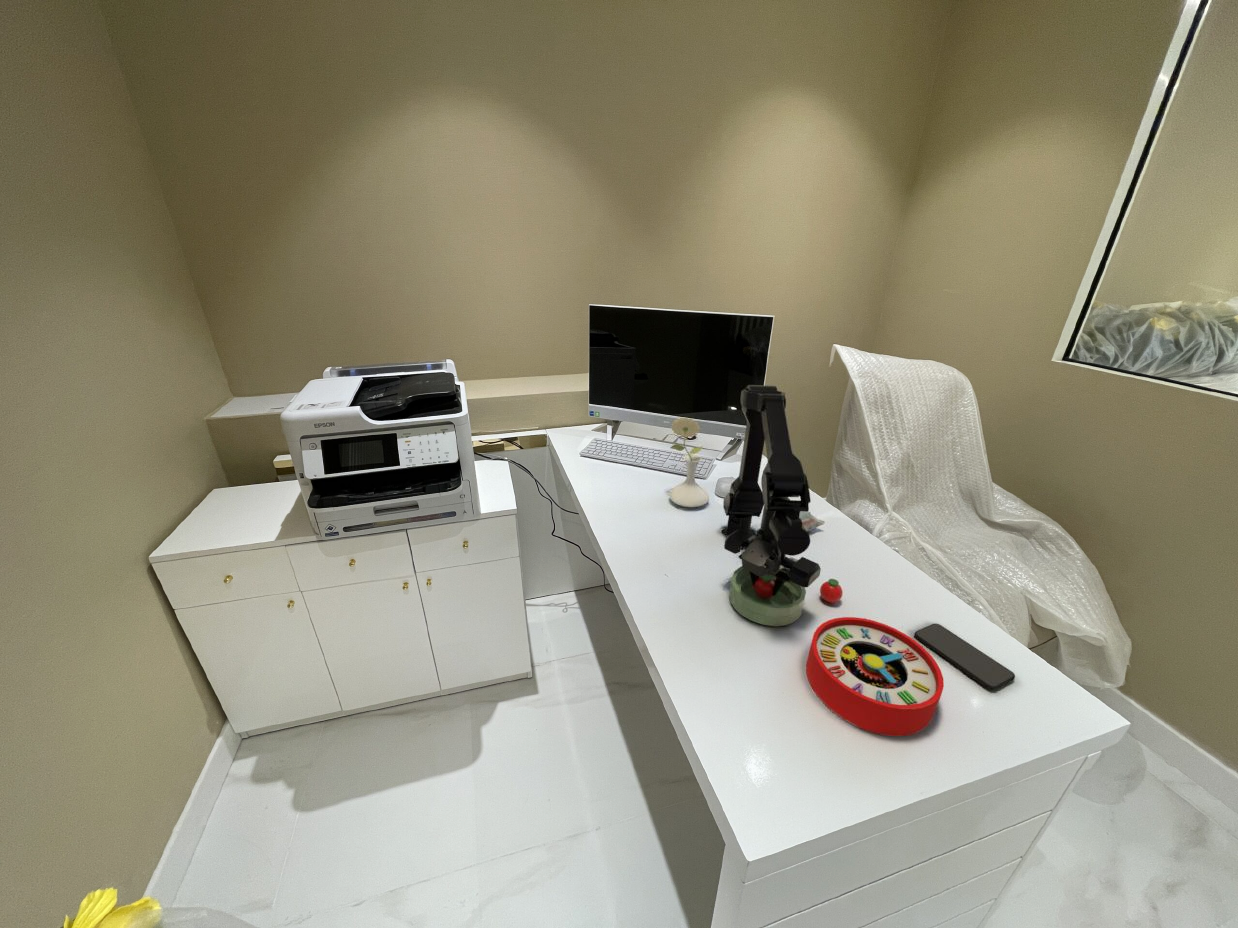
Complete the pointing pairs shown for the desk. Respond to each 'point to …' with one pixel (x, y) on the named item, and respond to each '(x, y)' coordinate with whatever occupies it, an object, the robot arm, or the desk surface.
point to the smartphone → (965, 656)
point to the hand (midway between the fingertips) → (764, 589)
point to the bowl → (766, 600)
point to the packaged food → (809, 521)
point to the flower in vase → (688, 468)
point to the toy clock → (874, 676)
